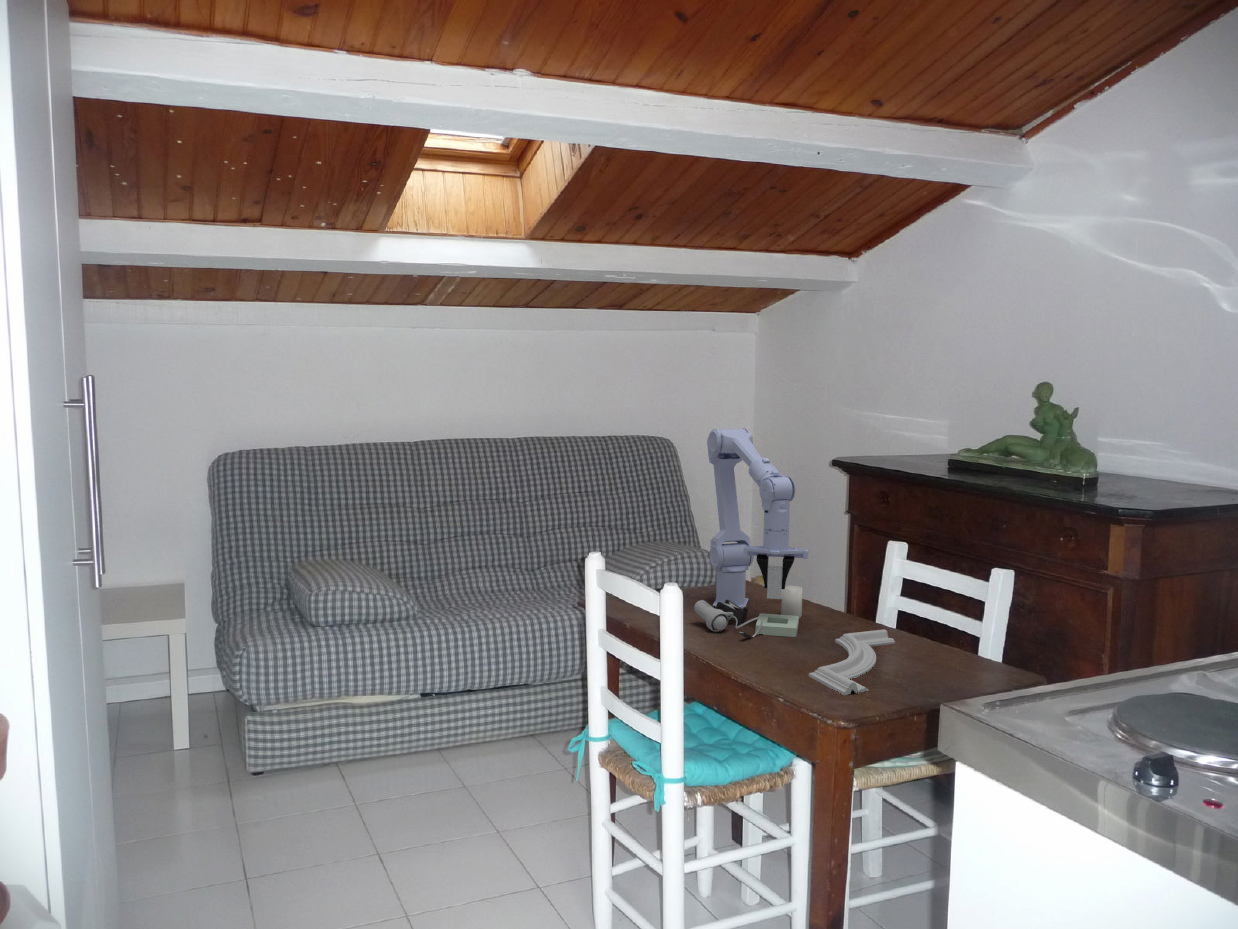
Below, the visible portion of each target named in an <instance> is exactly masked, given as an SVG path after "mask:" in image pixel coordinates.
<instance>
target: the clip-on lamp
mask: <svg viewBox="0 0 1238 929" xmlns="http://www.w3.org/2000/svg"><path fill="white" fill-rule="evenodd" d="M693 609H694V610H693V611H694V612H695V613H696V614H697V615H698V616H699V617H700V618H702V620H704V621H705V625H706V627H707V628H708V629H709V630H710V631H712V632H714V633H719V631H714V630H720V632H722V631H724V630H725V629H726V627H727V626H728V624H729V620H732V621H734V622H735V623H734V625H735V629H736V630H737V629H741V628H742V627H744V626H745V625H746V626H747V624H750V623H751V622H753V621H756V620H758V619H761V624H760V626H759V628H758V630H757V631H756V630H755V631H756V633H755V632H754V633H753V635H751V634H749V633H747V632H745V631H743V630H740V631H739V632H738V633H739V634H740V635H741V636H742V637H744V638H746V639H749V640H752V639H753V638H755V636H757V635H758V634H757V633H758V632H759V630H760V628H761V626H762V623H763V619H762V617H759V616H758V617H754V618H750V619H749V620H747V617H748V614H749V608H748V607H747V606H746V607H744V608H741V607H739V606H737V605H736V604H734V603H733V602H731V601H730V600H725V603H722V602H718V603H717V606H716V607H715V608H714V606H713V605H711V604H710V603H708V602H707V601H706V600H704V599H701V600H698V601H696V602H695V603H694V606H693ZM741 623H742V624H741ZM752 637H753V638H752Z"/></svg>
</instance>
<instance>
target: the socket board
mask: <svg viewBox="0 0 1238 929" xmlns="http://www.w3.org/2000/svg"><path fill="white" fill-rule="evenodd" d="M758 617H762V619H763V623H762V626H761V628H760V630H759V632H758V633H757V634H756V635H759V634H763V636H777V637H787V638H788V637H789V638H790V637H791V638H797V635H798V629H799V625H800V624H799V619H800V618H799V616H792V615H781V614H777V613H761V612H760V613H759V615H758ZM756 620H757V621H756V623H755V632H754V634H755V633H756V631H757V630H758V628H759V626H760V624H761V619H756Z"/></svg>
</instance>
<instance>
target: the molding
mask: <svg viewBox="0 0 1238 929" xmlns="http://www.w3.org/2000/svg"><path fill="white" fill-rule="evenodd" d="M834 643H836V644H838V645H839V646H841V647H842V648H843V649H845V650H846V652H847V654H848V657H847V658H846V659H844V660H842V661H838V662H836V663H832V664H828V665H823V666H819V667H818V668H817V669H815V670H814V671H813V672H809V673H808V677H809V678H810V679H812V680H814V681H816V682H817V683H820V684H822V685H824V686H825V687H827V688H829V689H831V690H832V689H833V690H832V691H834V690H835V692H836V691H838V692H839V693H838V692H837V693H838V694H840V693H841V694H842V696H843V695H844V696H849V695H848V694H850V695H851V693H852V692H853V691H854V692H853V693H855V694H857V692H858V694H860V693H859V692H864V691H870V690H869V689H868V688H867V687H866V686H863V685H862V684H859V683H858V682H856V681H854V680H853V679H852V678H854V679H855V678H859V677H861V676H863V675H865V674H867V673H868V672H870V671H871V670H872V669H873V668H874V667H875V665H876V662H877V654H876V652H875V650H874V649H873V647H878V646H886V645H895V644H896V640H895V639H894V638H893V637H892V638H891V637H889V633H888V631H887V630H886V629H876V630H869V631H868V630H867V631H860V632H859V631H858V632H848V633H843V634H842V635H841V636H840V637H839V638H835V639H834ZM872 667H873V668H872ZM866 672H867V673H866ZM862 674H863V675H862ZM860 675H861V676H860ZM850 679H851V680H850ZM841 694H840V695H841Z"/></svg>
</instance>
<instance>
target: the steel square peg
mask: <svg viewBox="0 0 1238 929" xmlns="http://www.w3.org/2000/svg"><path fill="white" fill-rule="evenodd" d="M782 577H783V565H768V580H767V588H766V599H772V600H773V599H774V600H782Z"/></svg>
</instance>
